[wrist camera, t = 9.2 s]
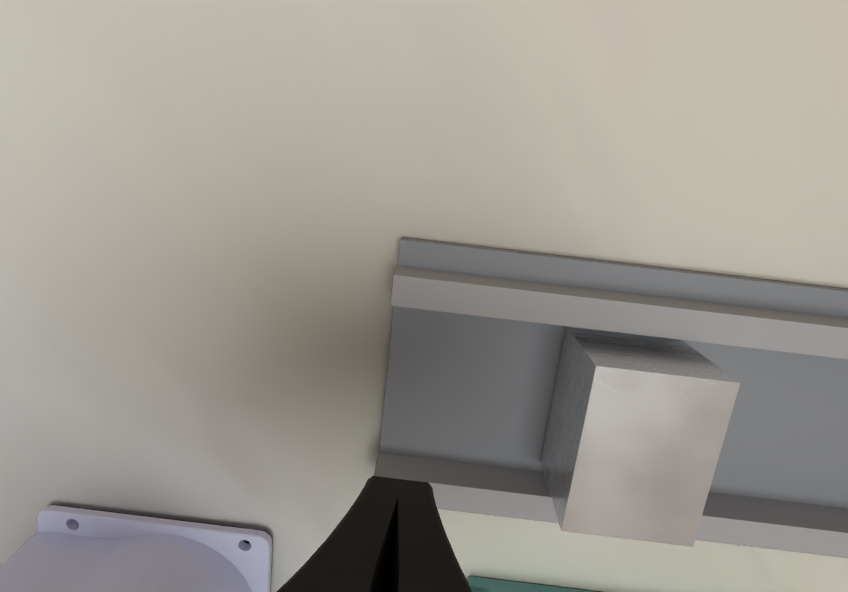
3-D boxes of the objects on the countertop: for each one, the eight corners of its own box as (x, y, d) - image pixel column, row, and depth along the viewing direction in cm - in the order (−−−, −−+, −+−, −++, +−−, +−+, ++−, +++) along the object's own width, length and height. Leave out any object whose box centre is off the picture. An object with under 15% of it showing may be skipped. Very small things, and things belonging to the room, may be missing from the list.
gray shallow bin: (376, 486, 20) (362, 553, 17) (401, 237, 18) (391, 254, 14) (944, 555, 20) (1049, 636, 17) (1051, 312, 18) (1200, 349, 14)
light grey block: (540, 463, 19) (561, 530, 16) (566, 326, 18) (596, 366, 14) (647, 476, 19) (692, 546, 16) (681, 339, 18) (740, 382, 14)
